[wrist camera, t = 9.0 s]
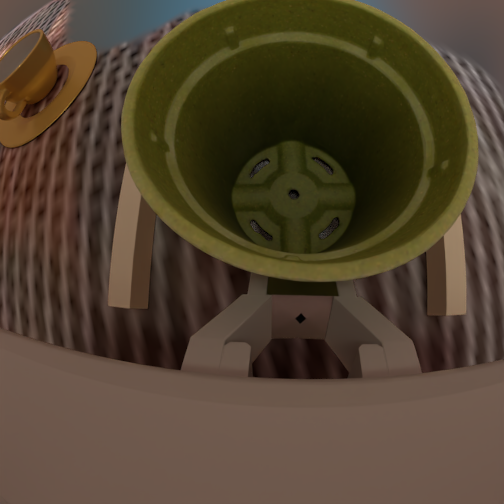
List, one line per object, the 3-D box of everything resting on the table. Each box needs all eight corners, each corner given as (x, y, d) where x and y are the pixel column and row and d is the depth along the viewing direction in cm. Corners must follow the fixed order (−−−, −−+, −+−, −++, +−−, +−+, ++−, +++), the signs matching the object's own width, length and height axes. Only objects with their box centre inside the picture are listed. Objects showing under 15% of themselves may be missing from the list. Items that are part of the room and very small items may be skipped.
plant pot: (415, 194, 14) (509, 102, 6) (305, 337, 13) (344, 383, 5) (282, 95, 16) (278, -30, 7) (165, 211, 15) (65, 122, 7)
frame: (127, 306, 14) (107, 305, 13) (166, 71, 17) (157, 52, 15) (445, 314, 13) (466, 314, 11) (409, 76, 16) (418, 57, 14)
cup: (25, 68, 21) (0, 41, 15) (113, 29, 20) (91, -10, 14) (-13, 162, 18) (-51, 140, 13) (76, 129, 17) (33, 89, 12)
